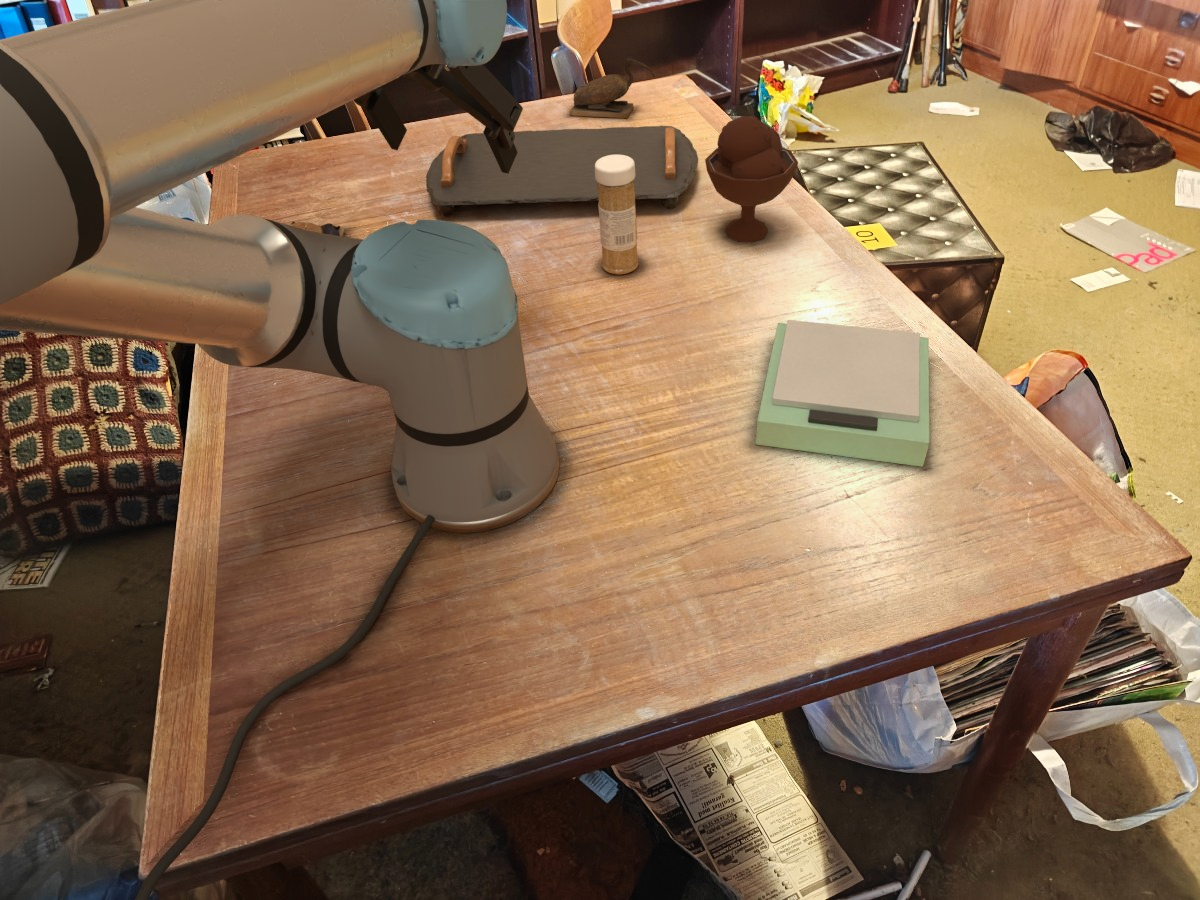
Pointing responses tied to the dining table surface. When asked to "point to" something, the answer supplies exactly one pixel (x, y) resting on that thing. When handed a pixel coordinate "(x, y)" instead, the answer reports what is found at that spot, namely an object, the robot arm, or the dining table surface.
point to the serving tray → (560, 166)
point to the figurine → (605, 95)
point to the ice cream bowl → (749, 172)
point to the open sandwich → (320, 228)
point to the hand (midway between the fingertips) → (453, 151)
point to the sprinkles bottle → (617, 213)
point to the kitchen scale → (847, 392)
